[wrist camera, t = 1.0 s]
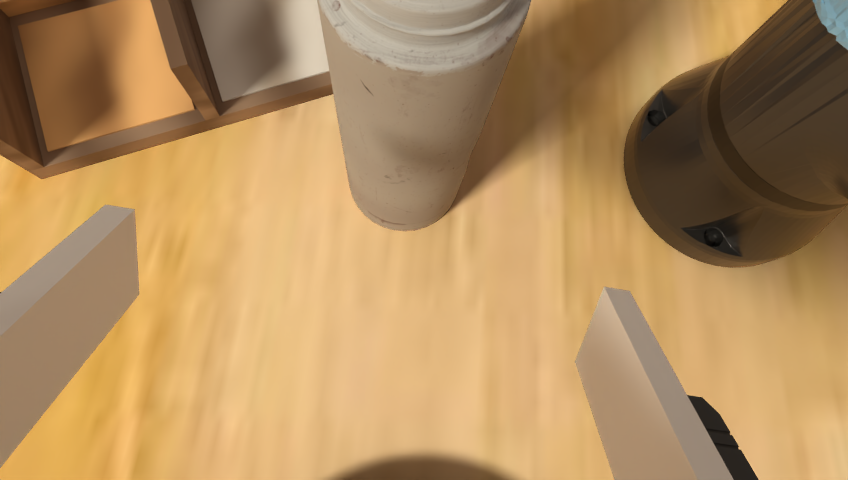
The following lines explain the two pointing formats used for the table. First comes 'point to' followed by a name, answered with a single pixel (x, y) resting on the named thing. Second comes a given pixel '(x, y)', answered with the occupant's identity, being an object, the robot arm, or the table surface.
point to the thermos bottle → (414, 96)
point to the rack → (146, 73)
